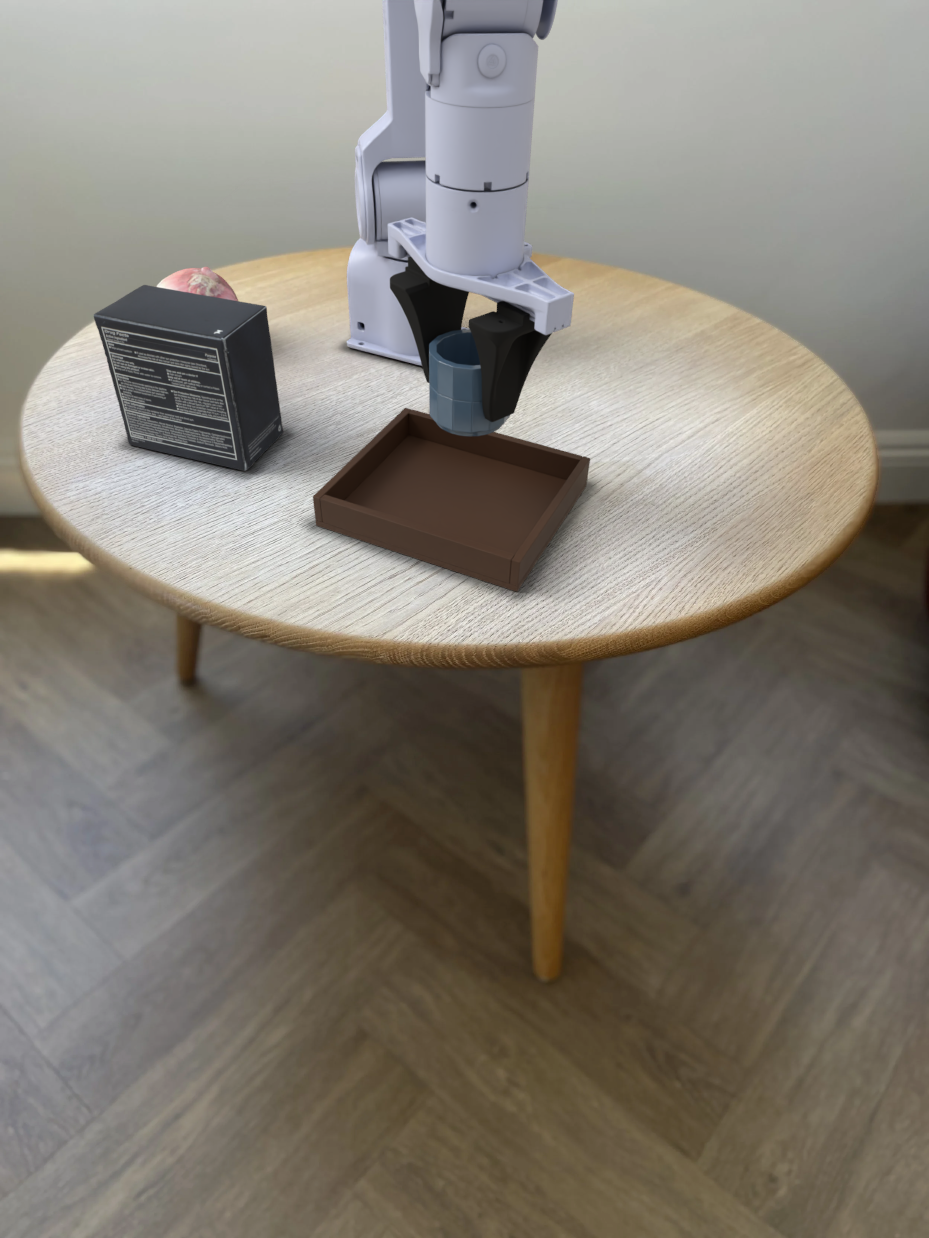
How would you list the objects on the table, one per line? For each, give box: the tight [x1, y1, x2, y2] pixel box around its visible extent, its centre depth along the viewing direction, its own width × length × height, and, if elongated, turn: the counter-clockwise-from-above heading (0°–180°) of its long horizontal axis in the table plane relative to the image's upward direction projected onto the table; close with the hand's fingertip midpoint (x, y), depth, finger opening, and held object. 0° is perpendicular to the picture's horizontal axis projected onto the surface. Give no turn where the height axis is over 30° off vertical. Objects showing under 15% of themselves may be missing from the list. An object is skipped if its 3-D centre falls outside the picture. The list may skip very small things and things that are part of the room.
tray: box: [312, 407, 591, 593], centre depth 61 cm, size 15×13×2 cm
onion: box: [156, 266, 239, 301], centre depth 76 cm, size 8×8×7 cm
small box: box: [93, 284, 284, 472], centre depth 64 cm, size 11×6×10 cm, turn 71°
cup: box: [428, 328, 511, 437], centre depth 57 cm, size 5×6×5 cm
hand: (469, 397), depth 57 cm, fingers closed on cup, 5 cm apart
